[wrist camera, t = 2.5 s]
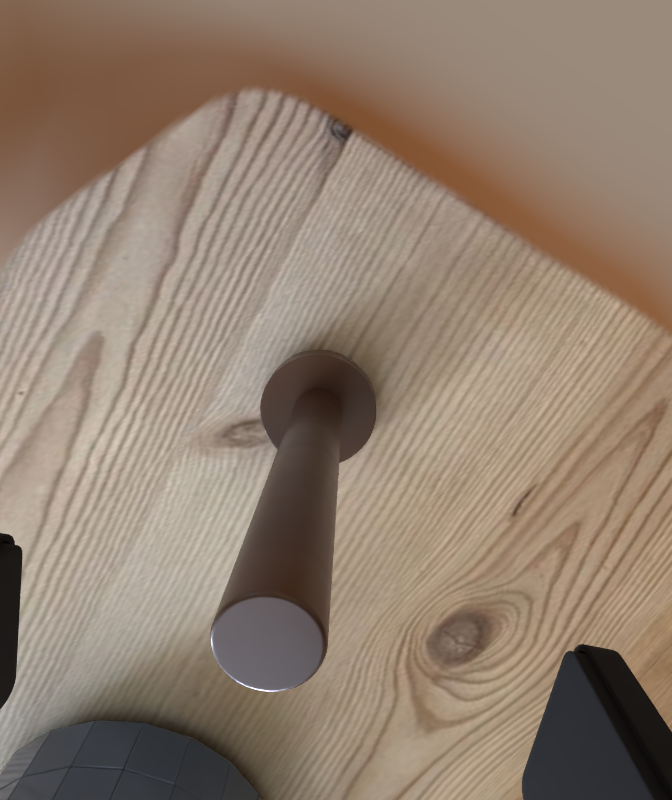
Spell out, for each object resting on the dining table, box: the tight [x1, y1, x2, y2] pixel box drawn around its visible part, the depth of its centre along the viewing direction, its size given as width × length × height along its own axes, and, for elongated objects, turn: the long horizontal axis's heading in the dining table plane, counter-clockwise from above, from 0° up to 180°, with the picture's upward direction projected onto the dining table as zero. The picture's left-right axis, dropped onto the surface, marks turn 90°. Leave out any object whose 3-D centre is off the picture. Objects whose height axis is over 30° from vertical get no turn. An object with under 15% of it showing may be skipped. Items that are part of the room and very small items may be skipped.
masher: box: [210, 350, 376, 692], centre depth 17 cm, size 5×5×15 cm
